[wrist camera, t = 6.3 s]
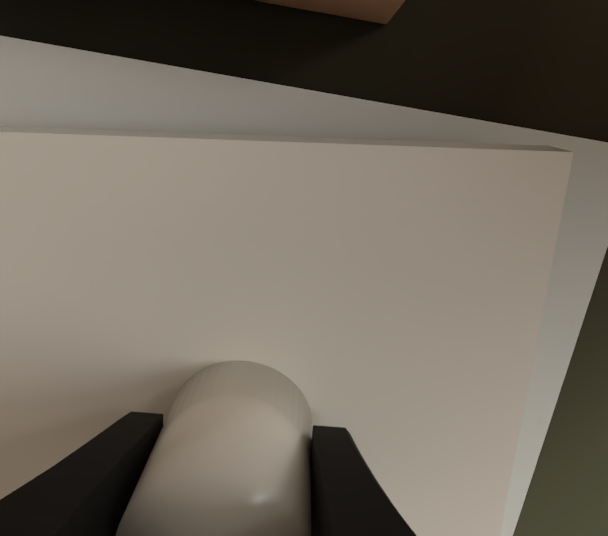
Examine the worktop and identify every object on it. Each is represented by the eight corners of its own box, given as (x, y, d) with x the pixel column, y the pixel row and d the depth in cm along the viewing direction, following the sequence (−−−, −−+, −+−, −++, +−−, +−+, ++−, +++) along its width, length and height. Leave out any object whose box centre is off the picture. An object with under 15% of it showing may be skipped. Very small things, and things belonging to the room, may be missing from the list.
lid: (548, 145, 10) (708, 186, 6) (468, 596, 13) (534, 813, 9) (-52, 124, 10) (-297, 151, 6) (28, 578, 13) (-92, 784, 9)
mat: (628, 147, 11) (640, 148, 11) (465, 653, 15) (469, 667, 15) (-42, 29, 11) (-55, 26, 10) (-39, 580, 15) (-48, 592, 14)
